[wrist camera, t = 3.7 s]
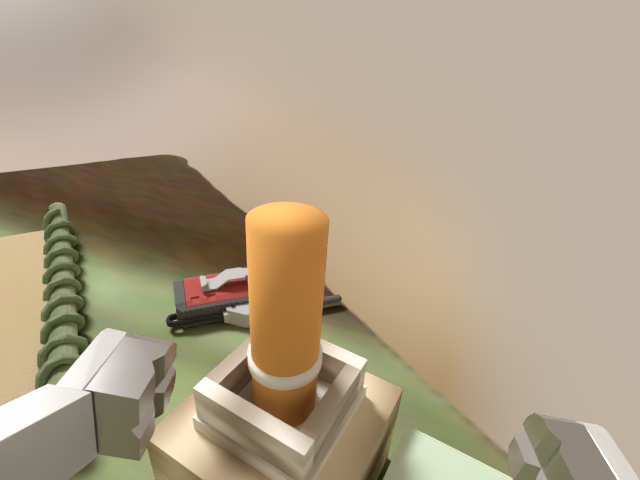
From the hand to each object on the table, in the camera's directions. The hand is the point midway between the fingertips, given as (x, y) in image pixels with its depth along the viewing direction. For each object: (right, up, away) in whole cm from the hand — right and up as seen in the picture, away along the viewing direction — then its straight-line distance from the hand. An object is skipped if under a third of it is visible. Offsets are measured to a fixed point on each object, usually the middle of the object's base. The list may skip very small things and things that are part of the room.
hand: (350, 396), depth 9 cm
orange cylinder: (-3, -7, +16) cm, 18 cm away
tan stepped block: (-3, -15, +21) cm, 26 cm away
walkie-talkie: (-9, -5, +39) cm, 41 cm away
